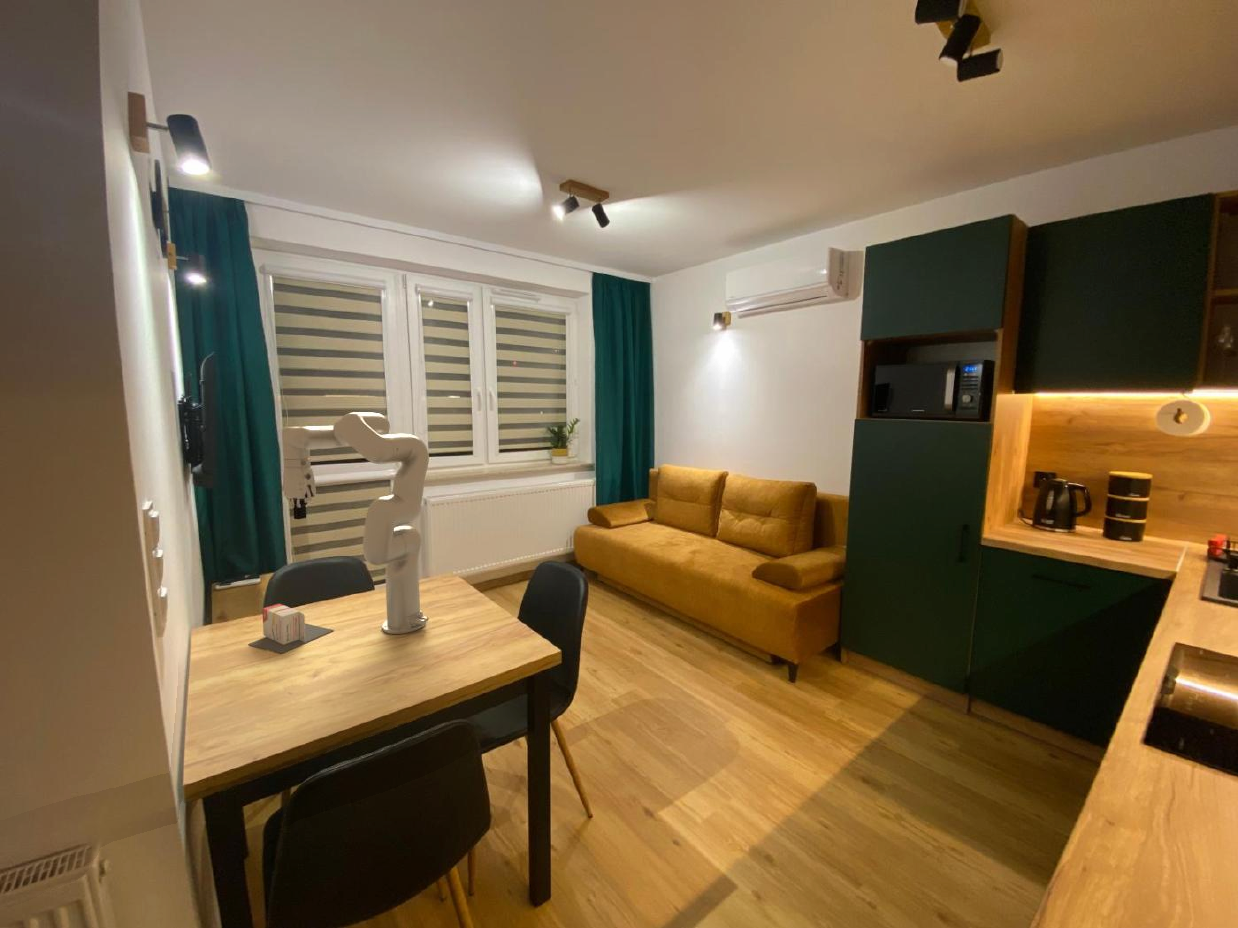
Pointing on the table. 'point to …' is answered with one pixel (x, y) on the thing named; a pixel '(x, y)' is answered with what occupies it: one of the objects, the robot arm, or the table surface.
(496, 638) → the table surface
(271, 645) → the mat
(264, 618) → the ink cartridge box
